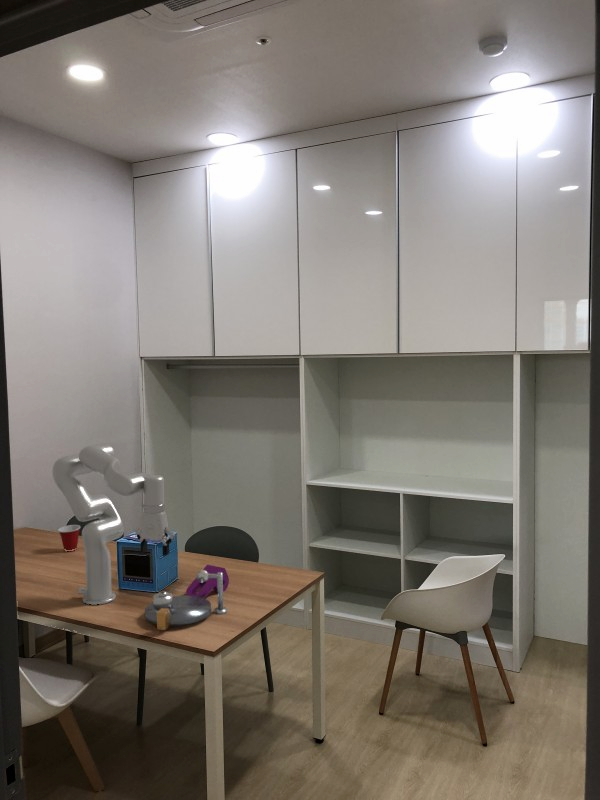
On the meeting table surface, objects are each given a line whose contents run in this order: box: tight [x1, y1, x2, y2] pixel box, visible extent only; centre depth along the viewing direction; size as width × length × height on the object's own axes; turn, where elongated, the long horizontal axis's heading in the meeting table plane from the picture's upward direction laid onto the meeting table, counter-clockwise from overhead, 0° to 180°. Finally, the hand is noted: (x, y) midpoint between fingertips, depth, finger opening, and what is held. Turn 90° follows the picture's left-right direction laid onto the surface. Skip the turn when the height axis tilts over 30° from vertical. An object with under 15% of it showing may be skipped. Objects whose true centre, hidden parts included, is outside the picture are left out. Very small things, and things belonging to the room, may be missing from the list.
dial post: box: [195, 569, 228, 615], centre depth 242 cm, size 11×5×16 cm, turn 79°
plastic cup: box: [57, 524, 81, 550], centre depth 324 cm, size 11×11×12 cm
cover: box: [152, 590, 173, 610], centre depth 239 cm, size 7×7×5 cm
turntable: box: [144, 595, 212, 631], centre depth 236 cm, size 24×28×6 cm
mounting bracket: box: [185, 564, 230, 599], centre depth 261 cm, size 9×8×18 cm
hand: (154, 553), depth 241 cm, fingers open, 9 cm apart
